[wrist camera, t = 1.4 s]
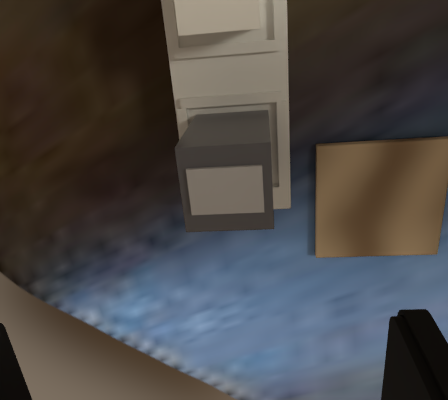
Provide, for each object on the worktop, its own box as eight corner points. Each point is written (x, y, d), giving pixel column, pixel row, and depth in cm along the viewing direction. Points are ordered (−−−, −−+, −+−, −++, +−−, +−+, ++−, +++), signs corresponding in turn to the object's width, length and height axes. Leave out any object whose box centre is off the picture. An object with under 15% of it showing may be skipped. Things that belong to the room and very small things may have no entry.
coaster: (450, 136, 28) (454, 138, 27) (434, 250, 31) (437, 254, 31) (316, 143, 29) (317, 146, 28) (315, 253, 32) (315, 257, 32)
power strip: (159, -94, 24) (122, -133, 17) (281, -109, 23) (289, -156, 17) (195, 195, 31) (178, 241, 25) (288, 190, 30) (295, 237, 24)
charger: (195, 114, 26) (173, 149, 19) (268, 109, 25) (271, 143, 19) (203, 181, 27) (185, 234, 21) (271, 178, 27) (274, 230, 20)
